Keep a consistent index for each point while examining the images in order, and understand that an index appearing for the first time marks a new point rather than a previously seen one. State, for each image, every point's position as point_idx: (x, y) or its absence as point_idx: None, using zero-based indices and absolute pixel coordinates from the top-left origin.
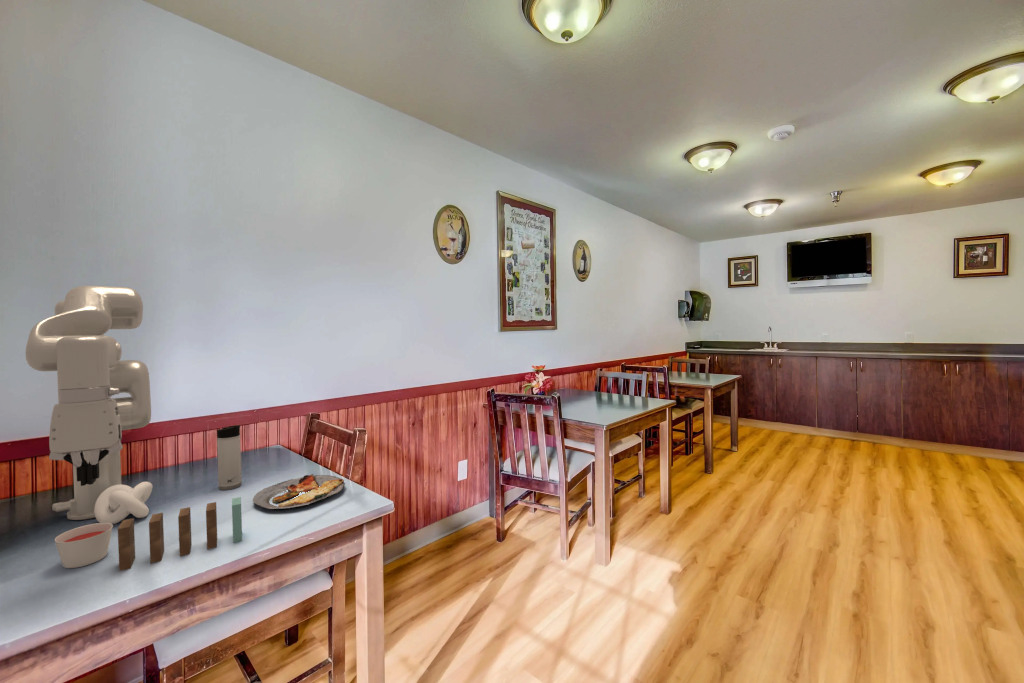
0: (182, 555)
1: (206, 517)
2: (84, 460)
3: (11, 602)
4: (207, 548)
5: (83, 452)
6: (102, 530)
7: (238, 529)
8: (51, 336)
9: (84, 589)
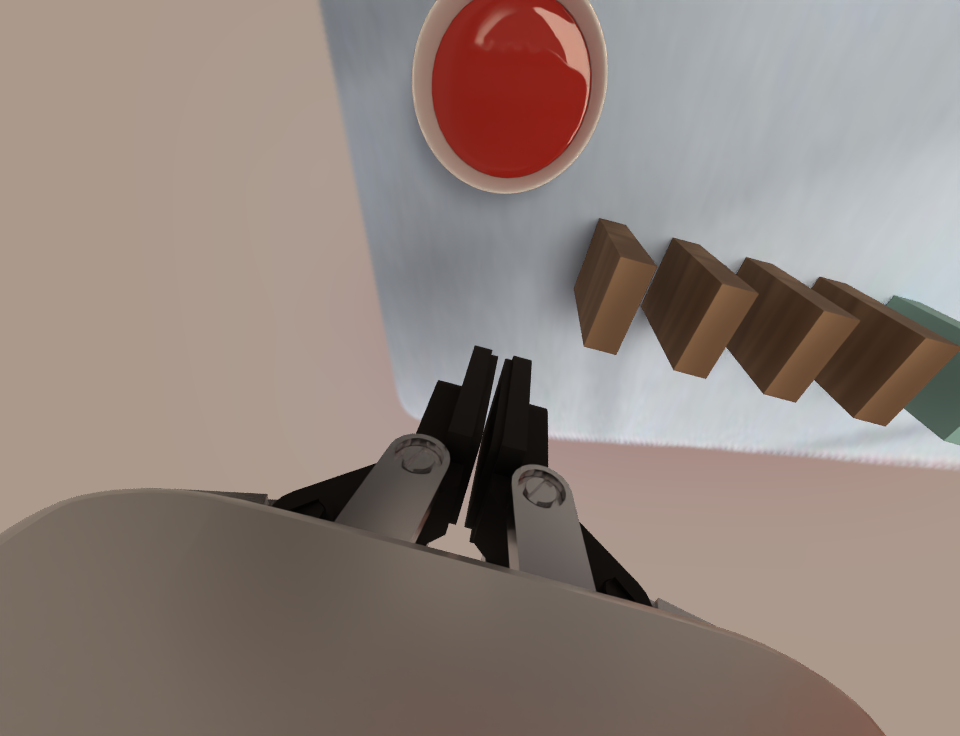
0: None
1: (837, 401)
2: (441, 506)
3: (376, 263)
4: None
5: (412, 537)
6: (575, 15)
7: None
8: None
9: (500, 327)
